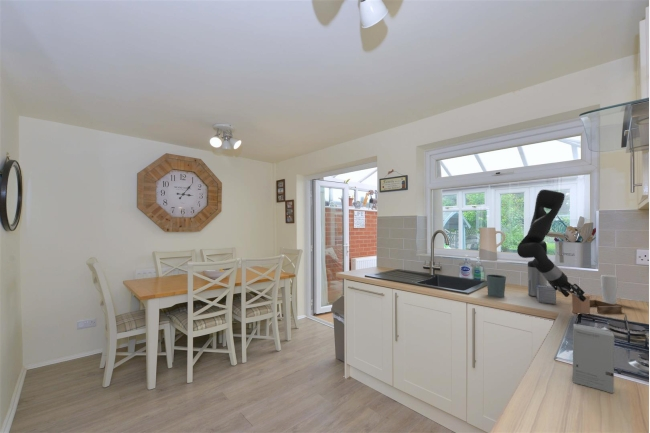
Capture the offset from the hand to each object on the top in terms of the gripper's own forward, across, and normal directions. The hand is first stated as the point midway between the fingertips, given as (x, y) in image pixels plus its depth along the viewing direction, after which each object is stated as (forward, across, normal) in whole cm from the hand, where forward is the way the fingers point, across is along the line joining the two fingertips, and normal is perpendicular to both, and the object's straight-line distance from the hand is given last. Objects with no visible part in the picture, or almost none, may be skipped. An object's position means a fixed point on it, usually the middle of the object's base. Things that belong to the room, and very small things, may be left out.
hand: (575, 297), depth 141 cm
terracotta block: (+7, 0, +4) cm, 8 cm away
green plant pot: (-5, +37, +16) cm, 40 cm away
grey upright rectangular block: (-32, -58, +43) cm, 79 cm away
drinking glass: (+31, +16, -20) cm, 40 cm away
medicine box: (+8, +21, +3) cm, 22 cm away
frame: (+18, +6, -7) cm, 20 cm away
